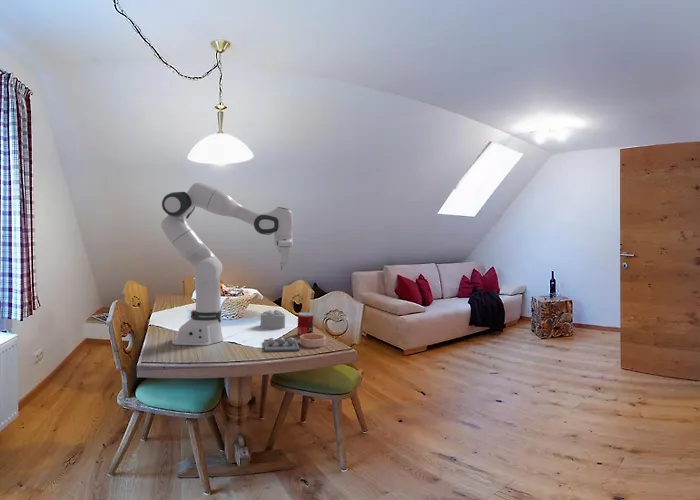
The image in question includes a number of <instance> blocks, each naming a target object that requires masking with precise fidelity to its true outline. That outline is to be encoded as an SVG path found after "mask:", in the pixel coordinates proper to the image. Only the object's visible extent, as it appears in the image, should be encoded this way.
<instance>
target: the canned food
mask: <svg viewBox="0 0 700 500" xmlns="http://www.w3.org/2000/svg"><path fill="white" fill-rule="evenodd" d="M314 317H315V316H314V313H313V312H308V311H307V312H304V311H303V312H301V311H300V312H298V313H297V336H299V337H300V336H301V335H303V334H310V333H314Z"/></svg>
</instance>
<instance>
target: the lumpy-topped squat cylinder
mask: <svg viewBox="0 0 700 500" xmlns="http://www.w3.org/2000/svg"><path fill="white" fill-rule="evenodd" d="M259 325H260V328H261V327H262V329H267V328H269V330H280V329H281V330H283V329H285V328H286V314H285V313H284V312H282V311H280V310H278V309H274V310H270V309H269V310H265V311H263V313H261V314H260V324H259ZM282 328H283V329H282Z"/></svg>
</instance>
